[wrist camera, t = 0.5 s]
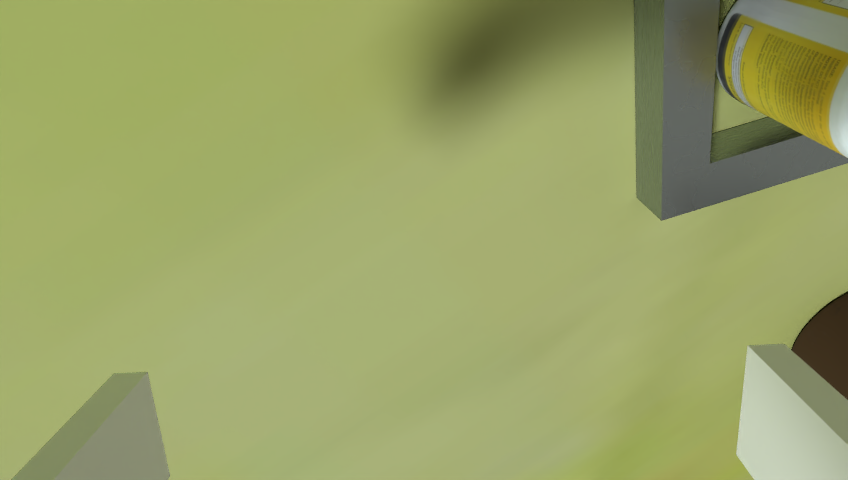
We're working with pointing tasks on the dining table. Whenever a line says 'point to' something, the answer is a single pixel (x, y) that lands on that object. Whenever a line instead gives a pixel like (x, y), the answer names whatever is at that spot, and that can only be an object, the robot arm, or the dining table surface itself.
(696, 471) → the dining table surface
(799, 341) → the olive oil
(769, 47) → the pill bottle
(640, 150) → the metal collar
